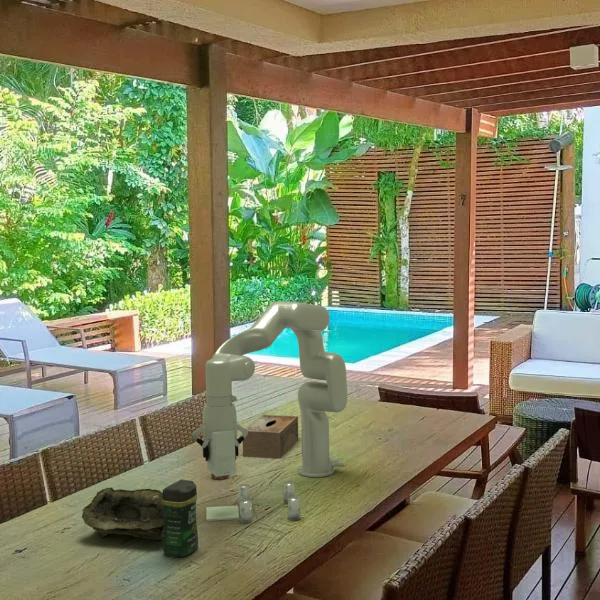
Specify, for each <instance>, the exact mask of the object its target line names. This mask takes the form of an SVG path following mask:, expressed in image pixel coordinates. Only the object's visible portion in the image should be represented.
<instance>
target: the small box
mask: <svg viewBox="0 0 600 600" xmlns="http://www.w3.org/2000/svg"><path fill="white" fill-rule="evenodd" d="M207 446H208V461H206V470H207V471H208V472H209V473H212V474H213V475H215V476H216V477H219V476H225V475H229V476H230V475H235V474H237V471H236V470H237V468H236V464H237V463H236V460H235V431H215V432H212V439H211V440H209V442H208V444H207Z"/></svg>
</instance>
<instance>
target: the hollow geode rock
mask: <svg viewBox="0 0 600 600" xmlns="http://www.w3.org/2000/svg"><path fill="white" fill-rule="evenodd" d="M162 494H163V491H161V490H158V489H151V488H141V489H134V490H130V489H129V490H127V489H122V488H121V489H120V488H119V489H114V487H106V488H103V489H101V490H99V491H97V493H96V494H95V496H94V497H93V499H92V500H91V502H90V503H89V504H88V505H86V506H84V507H83V509H82V516H81V518H82V520H83V522H84V524H86V526H88V527H90V528H92V529H93V530H94V531H95V532H97V533H98V535H99V537H100V538H101V537H106V536H107V535H111V534H113V535H114V534H115V535H127V536H128V535H130V536H133V537H134V538H140V539H146V540H152V541H164V507H163V501H162Z"/></svg>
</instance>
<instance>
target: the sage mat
mask: <svg viewBox="0 0 600 600" xmlns="http://www.w3.org/2000/svg"><path fill="white" fill-rule="evenodd" d="M205 520H206V522H211V521H212V522H214V521H215V522H216V521H231V520H233V521H234V520H240V510H239V505H223V506H221V505H220V506H208V507H207V506H206V519H205Z"/></svg>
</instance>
